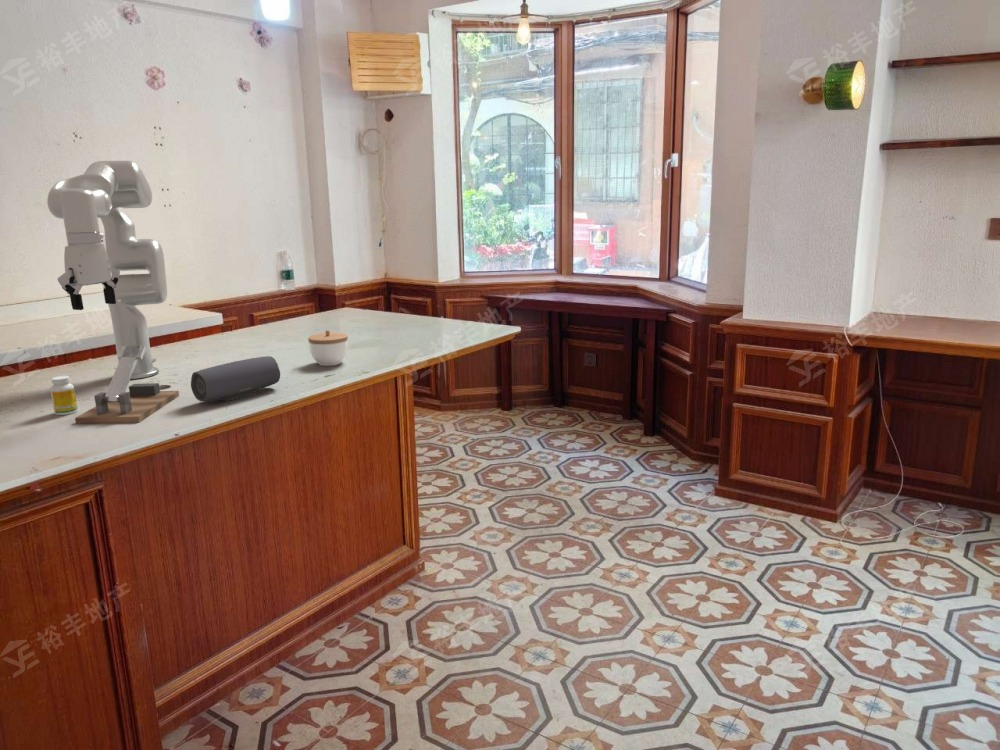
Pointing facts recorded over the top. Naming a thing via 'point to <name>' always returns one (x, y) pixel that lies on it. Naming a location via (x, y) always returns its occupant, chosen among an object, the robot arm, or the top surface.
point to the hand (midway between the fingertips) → (94, 306)
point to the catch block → (144, 389)
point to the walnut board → (125, 408)
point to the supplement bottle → (63, 396)
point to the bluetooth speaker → (235, 379)
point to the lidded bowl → (328, 348)
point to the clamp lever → (123, 371)
